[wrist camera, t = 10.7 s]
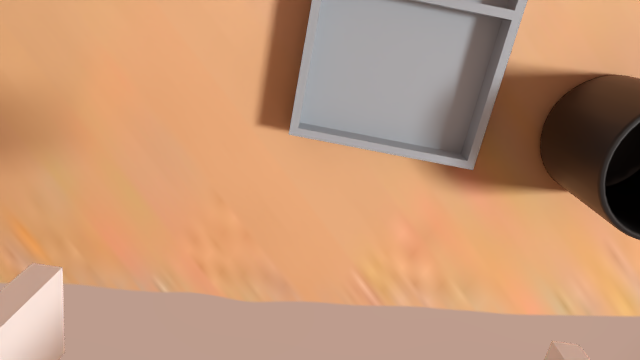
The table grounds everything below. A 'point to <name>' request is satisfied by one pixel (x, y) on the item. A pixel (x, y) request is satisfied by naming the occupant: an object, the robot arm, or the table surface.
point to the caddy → (404, 75)
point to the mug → (598, 148)
